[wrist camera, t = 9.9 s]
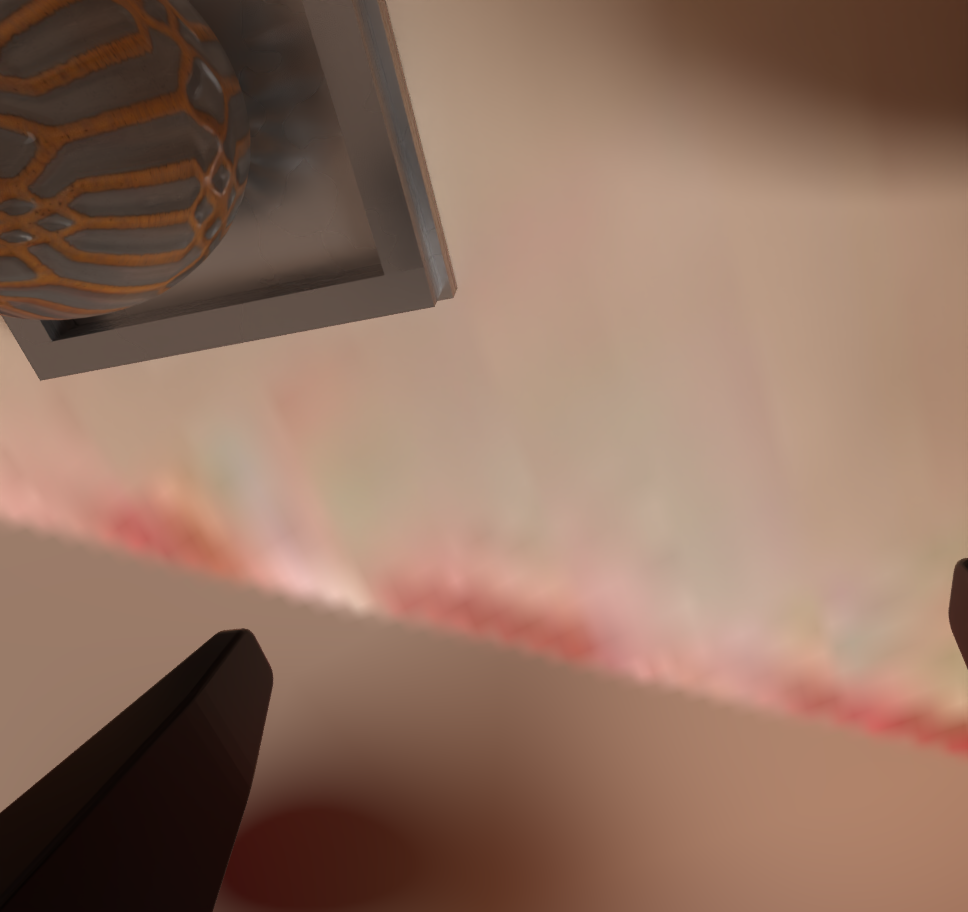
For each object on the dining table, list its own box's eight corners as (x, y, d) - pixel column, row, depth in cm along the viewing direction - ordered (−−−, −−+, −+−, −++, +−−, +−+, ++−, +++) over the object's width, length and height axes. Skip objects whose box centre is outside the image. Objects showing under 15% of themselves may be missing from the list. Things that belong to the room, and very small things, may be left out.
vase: (-7, 185, 18) (-382, 318, 11) (-3, -139, 15) (-561, -263, 7) (255, 292, 19) (70, 478, 12) (321, 12, 16) (111, 36, 8)
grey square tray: (304, -320, 14) (267, -367, 12) (457, 287, 20) (446, 314, 18) (-193, -129, 16) (-283, -145, 14) (78, 360, 22) (37, 389, 20)
